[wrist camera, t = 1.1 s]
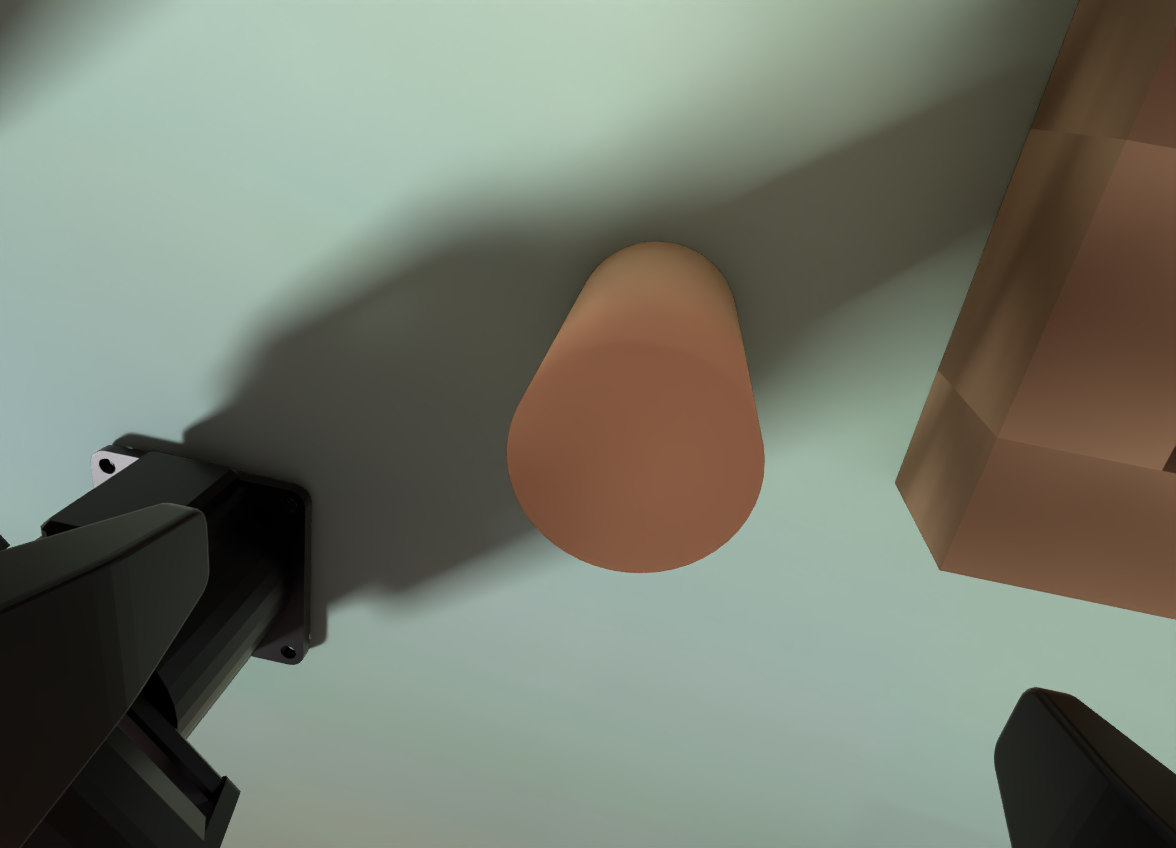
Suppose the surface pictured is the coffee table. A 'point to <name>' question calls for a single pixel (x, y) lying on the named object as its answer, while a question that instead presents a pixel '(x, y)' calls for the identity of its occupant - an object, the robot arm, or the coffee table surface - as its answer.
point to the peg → (641, 417)
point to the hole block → (1069, 341)
